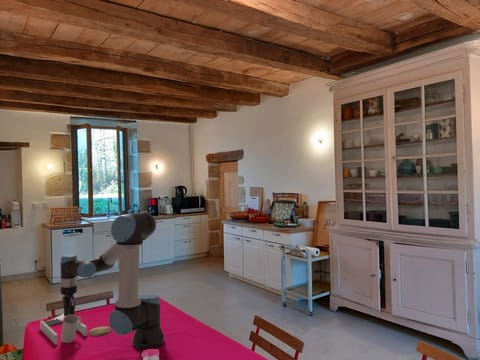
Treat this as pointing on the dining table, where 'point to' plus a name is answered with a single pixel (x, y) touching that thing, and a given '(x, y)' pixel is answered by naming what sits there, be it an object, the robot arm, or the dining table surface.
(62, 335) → the mug
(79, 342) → the dining table surface
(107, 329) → the coaster
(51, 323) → the pad
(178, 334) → the dining table surface
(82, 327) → the channel
